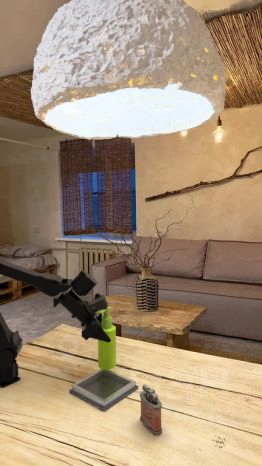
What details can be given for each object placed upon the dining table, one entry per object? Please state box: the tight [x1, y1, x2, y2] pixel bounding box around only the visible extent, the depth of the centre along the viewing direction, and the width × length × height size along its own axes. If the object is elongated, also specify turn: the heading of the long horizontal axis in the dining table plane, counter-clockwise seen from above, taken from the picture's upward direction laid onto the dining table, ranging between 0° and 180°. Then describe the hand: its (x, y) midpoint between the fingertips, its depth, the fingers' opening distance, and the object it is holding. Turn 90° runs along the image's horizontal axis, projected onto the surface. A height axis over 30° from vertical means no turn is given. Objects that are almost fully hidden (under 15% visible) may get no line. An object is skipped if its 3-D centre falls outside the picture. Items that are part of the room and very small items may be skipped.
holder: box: [69, 368, 139, 413], centre depth 106 cm, size 15×15×2 cm
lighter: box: [139, 383, 163, 436], centre depth 89 cm, size 8×3×10 cm, turn 30°
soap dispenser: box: [96, 306, 117, 371], centre depth 113 cm, size 6×7×20 cm
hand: (110, 337), depth 113 cm, fingers closed on soap dispenser, 6 cm apart
